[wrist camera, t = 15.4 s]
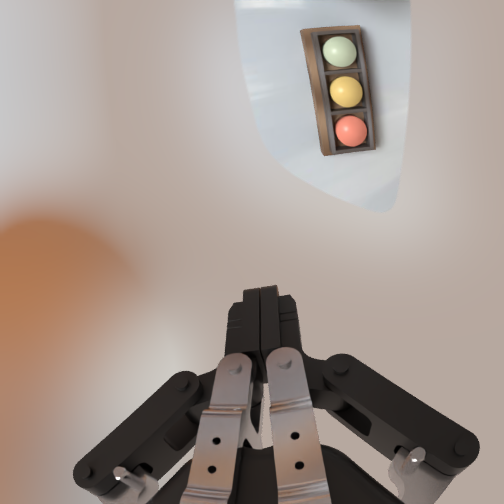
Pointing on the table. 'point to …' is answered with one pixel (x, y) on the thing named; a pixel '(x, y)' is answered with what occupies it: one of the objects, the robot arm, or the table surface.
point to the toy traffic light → (320, 81)
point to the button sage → (339, 51)
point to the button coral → (350, 130)
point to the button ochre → (345, 91)
